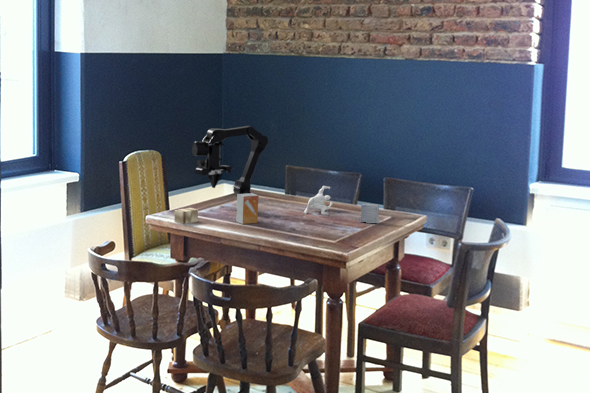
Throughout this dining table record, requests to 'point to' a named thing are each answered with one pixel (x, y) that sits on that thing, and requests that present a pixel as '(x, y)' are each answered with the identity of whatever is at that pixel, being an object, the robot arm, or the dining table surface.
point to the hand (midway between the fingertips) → (213, 187)
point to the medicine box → (369, 213)
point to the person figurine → (319, 202)
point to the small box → (247, 208)
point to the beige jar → (186, 215)
